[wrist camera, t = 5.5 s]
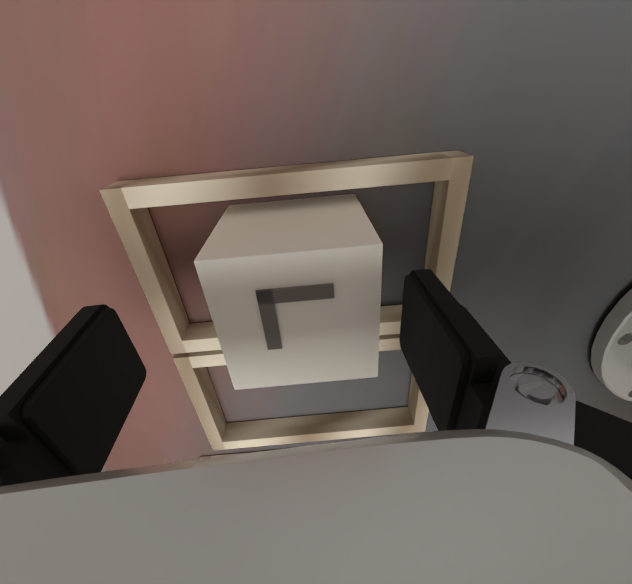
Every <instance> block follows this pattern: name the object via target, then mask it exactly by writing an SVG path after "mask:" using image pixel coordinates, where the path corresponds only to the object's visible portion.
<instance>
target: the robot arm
mask: <svg viewBox="0 0 632 584" xmlns="http://www.w3.org/2000/svg"><path fill="white" fill-rule="evenodd" d="M399 341H400V347H401V350H402V352H403V354H404V356H405V358H406V361H407V363H408V365H409V367H410V369H411V372H412V374H413V376H414V378H415V380H416V383H417V385H418V387H419V389H420V391H421V394H422V396H423V398H424V400H425V402H426V404H427V407H428V409H429V411H430V413H431V415H432V418H433V420H434V422H435V424H436V426H437V429H438V431H434V432H424V433H414V434H405V435H395V436H386V437H376V438H368V439H360V440H352V441H343V442H335V443H327V444H319V445H310V446H302V447H294V448H285V449H277V450H269V451H261V452H253V453H246V454H238V455H230V456H222V457H214V458H206V459H198V460H190V461H182V462H175V463H167V464H159V465H151V466H144V467H136V468H129V469H121V470H113V471H106V472H101V470H102V468H103V466H104V464H105V462H106V460H107V458H108V456H109V454H110V452H111V449H112V447H113V445H114V443H115V441H116V439H117V437H118V435H119V433H120V431H121V429H122V427H123V424H124V422H125V420H126V418H127V416H128V414H129V412H130V410H131V408H132V406H133V404H134V401H135V399H136V397H137V395H138V393H139V391H140V389H141V387H142V385H143V383H144V381H145V378H146V369H145V366H144V364H143V362H142V361H141V359H140V357H139V355H138V353H137V351H136V349H135V347H134V345H133V343H132V341H131V340H130V338H129V336H128V334H127V332H126V330H125V328H124V326H123V324H122V322H121V320H120V319H119V317H118V315H117V313H116V311H115V310H114V309H112V308H109V307H108V306H107V305H104V304H103V305H94V306H86V307H83V308H82V309H81V310H80V311H79V312H78V313H77V314H76V315H75V316H74V317H73V318H72V319H71V320H70V322H69V323H68V324H67V325H66V326H65V327H64V328H63V329H62V330H61V331H60V332H59V333H58V334H57V336H56V337H55V338H54V339H53V340H52V341H51V342H50V343H49V344H48V346H46V348H45V349H44V350H43V351H42V352H41V353H40V354H39V355H38V356H37V357H36V358H35V359H34V361H33V362H32V363H31V364H30V365H29V366H28V367H27V368H26V369H25V370H24V371H23V372H22V374H20V376H19V377H18V378H17V379H16V380H15V381H14V382H13V383H12V384H11V385H10V386H9V388H8V389H7V390H6V391H5V392H4V393H3V394H2V395H1V396H0V584H632V423H631V422H628V421H626V420H623V419H621V418H618V417H616V416H613V415H611V414H608V413H606V412H603V411H601V410H598V409H596V408H593V407H591V406H589V405H586V404H584V403H581V402H579V401H576V397H575V392H574V389H573V388H572V386H571V385H570V383H569V382H568V381H567V380H566V379H565V378H564V377H562V376H561V375H560V374H558V373H557V372H555V371H553V370H552V369H550V368H547V367H545V366H543V365H540V364H536V363H531V362H515V363H511V362H510V361H509V360H508V358H507V357H506V356H505V355H504V354H503V352H502V351H501V350H500V349H499V348H498V347H497V345H496V344H495V343H494V342H493V341H492V339H491V338H490V337H489V336H488V335H487V333H486V332H485V331H484V330H483V329H482V327H481V326H480V325H479V324H478V323H477V321H476V320H475V319H474V318H473V317H472V315H471V314H470V313H469V312H468V311H467V309H466V308H465V307H463V306H462V305H460V304H459V303H458V302H457V300H456V299H455V298H454V297H453V296H452V294H451V293H450V292H449V291H448V290H447V288H446V287H445V286H444V285H443V283H442V282H441V281H440V280H439V279H438V277H437V276H436V275H435V274H434V272H433V271H432V270H431V269H421V270H412V271H411V273H410V275H407V276H405V280H404V292H403V303H402V314H401V325H400V336H399ZM591 365H592V368H593V372H594V374H595V375H596V377H597V378H598V379H599V381H600V382H601V383H602V384H603V385H604V386H606V387H607V388H608V389H609V390H610V391H611V392H612V393H613V394H614V395H616V396H618V397H620V398H622V399H624V400H627V401H632V288H631V289H630V290H629V291H628V292H627V293H626V294H625V295H624V296H623V297H622V298H621V299H620V300H619V301H618V303H617V304H616V305H615V306H614V308H613V309H612V310H611V311H610V313H609V314H608V315H607V316H606V318H605V320H604V322H603V323H602V325H601V327H600V328H599V330H598V332H597V334H596V337H595V340H594V343H593V346H592V350H591Z"/></svg>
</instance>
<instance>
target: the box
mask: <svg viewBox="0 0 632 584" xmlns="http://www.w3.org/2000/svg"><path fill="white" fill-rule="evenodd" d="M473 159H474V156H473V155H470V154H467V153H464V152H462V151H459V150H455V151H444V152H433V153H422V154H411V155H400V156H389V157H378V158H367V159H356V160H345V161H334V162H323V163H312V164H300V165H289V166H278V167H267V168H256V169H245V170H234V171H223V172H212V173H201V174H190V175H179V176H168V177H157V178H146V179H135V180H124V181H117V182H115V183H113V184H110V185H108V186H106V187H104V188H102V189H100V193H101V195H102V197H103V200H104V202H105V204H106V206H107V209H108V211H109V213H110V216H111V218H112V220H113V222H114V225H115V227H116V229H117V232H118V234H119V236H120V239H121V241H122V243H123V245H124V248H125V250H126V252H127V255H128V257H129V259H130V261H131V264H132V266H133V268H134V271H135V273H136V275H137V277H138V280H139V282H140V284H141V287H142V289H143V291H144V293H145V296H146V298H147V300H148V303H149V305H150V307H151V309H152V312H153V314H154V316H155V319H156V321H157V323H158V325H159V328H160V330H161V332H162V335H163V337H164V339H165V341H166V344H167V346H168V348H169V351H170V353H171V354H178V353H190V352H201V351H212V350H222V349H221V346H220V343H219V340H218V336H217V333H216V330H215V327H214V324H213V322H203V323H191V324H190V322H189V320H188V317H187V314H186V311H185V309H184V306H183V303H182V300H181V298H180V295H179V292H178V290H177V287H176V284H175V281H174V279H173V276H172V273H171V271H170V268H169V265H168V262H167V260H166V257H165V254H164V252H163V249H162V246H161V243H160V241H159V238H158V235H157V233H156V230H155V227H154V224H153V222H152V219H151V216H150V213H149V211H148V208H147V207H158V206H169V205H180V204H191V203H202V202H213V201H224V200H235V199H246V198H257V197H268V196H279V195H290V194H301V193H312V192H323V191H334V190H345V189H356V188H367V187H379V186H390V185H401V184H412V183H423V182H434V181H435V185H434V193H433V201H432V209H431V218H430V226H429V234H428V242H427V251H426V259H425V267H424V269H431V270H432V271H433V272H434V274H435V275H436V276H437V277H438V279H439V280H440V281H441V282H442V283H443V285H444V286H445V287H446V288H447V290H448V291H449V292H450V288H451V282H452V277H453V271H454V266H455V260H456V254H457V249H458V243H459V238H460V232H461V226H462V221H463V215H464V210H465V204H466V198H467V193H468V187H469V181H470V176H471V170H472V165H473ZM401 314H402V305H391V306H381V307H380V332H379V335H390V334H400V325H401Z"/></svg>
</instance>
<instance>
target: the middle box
mask: <svg viewBox="0 0 632 584" xmlns="http://www.w3.org/2000/svg"><path fill="white" fill-rule="evenodd" d="M399 336H400V334H390V335H379V351H388V350H399V349H401V347H400V341H399ZM173 360H174V362H175V364H176V367H177V369H178V371H179V373H180V376H181V378H182V380H183V383H184V385H185V387H186V389H187V392H188V394H189V396H190V399H191V401H192V403H193V405H194V408H195V410H196V412H197V415H198V417H199V419H200V421H201V424H202V426H203V428H204V431H205V433H206V435H207V437H208V440H209V442H210V444H211V447H212V449H213V450H223V449H234V448H245V447H256V446H267V445H279V444H290V443H301V442H312V441H323V440H334V439H346V438H357V437H368V436H379V435H390V434H401V433H413V432H424V431H425V428H426V423H427V417H428V412H429V409H428V407H427V404H426V402H425V400H424V398H423V396H422V394H421V391H420V389H419V387H418V385H417V383H416V380H415V378H414V376H413V374H412V375H411V383H410V391H409V399H408V407H399V408H388V409H377V410H366V411H355V412H343V413H332V414H321V415H310V416H299V417H288V418H276V419H265V420H254V421H243V422H232V423H226V420H225V417H224V415H223V412H222V409H221V406H220V404H219V401H218V398H217V396H216V393H215V390H214V387H213V385H212V382H211V379H210V377H209V374H208V371H207V368H206V367H210V366H221V365H226V362H225V358H224V355H223V352H222V350H212V351H201V352H190V353H178V354H175V355H174V357H173Z"/></svg>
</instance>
